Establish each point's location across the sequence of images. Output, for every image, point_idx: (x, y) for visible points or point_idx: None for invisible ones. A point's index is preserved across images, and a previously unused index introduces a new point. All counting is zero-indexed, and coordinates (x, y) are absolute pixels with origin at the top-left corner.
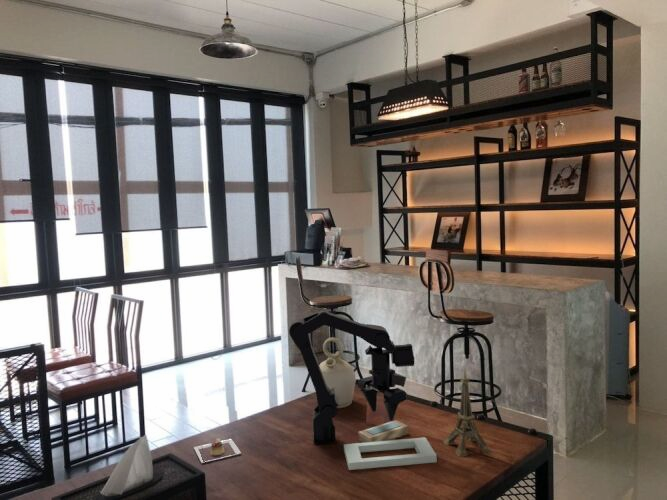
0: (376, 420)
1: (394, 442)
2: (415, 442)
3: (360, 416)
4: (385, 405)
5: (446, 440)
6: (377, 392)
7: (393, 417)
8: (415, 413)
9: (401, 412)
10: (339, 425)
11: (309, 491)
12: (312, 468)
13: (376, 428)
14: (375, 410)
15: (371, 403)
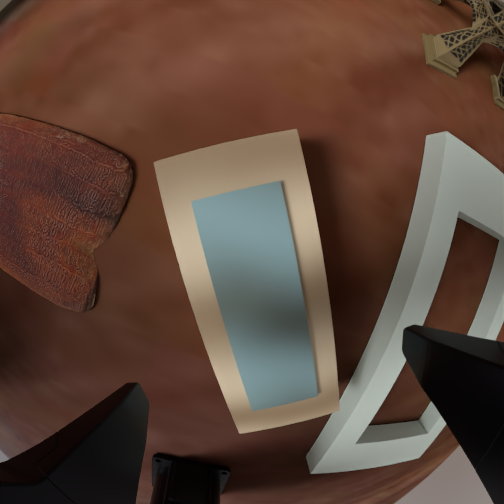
0: (60, 254)
1: (425, 309)
2: (468, 212)
3: (4, 291)
4: (491, 473)
5: (445, 59)
6: (20, 486)
7: (433, 331)
8: (70, 24)
9: (26, 83)
10: (74, 403)
11: (412, 485)
12: (345, 497)
13: (248, 356)
14: (139, 388)
15: (131, 470)
